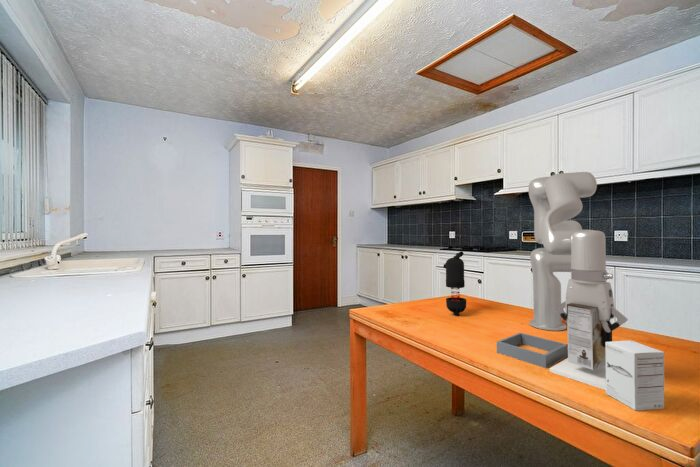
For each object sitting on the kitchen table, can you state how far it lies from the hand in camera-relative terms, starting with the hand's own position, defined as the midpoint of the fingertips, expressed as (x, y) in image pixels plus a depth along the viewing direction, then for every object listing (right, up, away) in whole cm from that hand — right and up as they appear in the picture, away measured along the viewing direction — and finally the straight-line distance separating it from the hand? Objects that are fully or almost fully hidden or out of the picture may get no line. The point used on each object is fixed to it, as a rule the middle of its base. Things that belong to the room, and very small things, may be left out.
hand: (589, 341), depth 85 cm
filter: (-16, -9, +62) cm, 64 cm away
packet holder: (-7, -9, +14) cm, 18 cm away
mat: (0, -9, 0) cm, 9 cm away
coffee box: (0, -6, 0) cm, 6 cm away
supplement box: (0, -9, -14) cm, 16 cm away
